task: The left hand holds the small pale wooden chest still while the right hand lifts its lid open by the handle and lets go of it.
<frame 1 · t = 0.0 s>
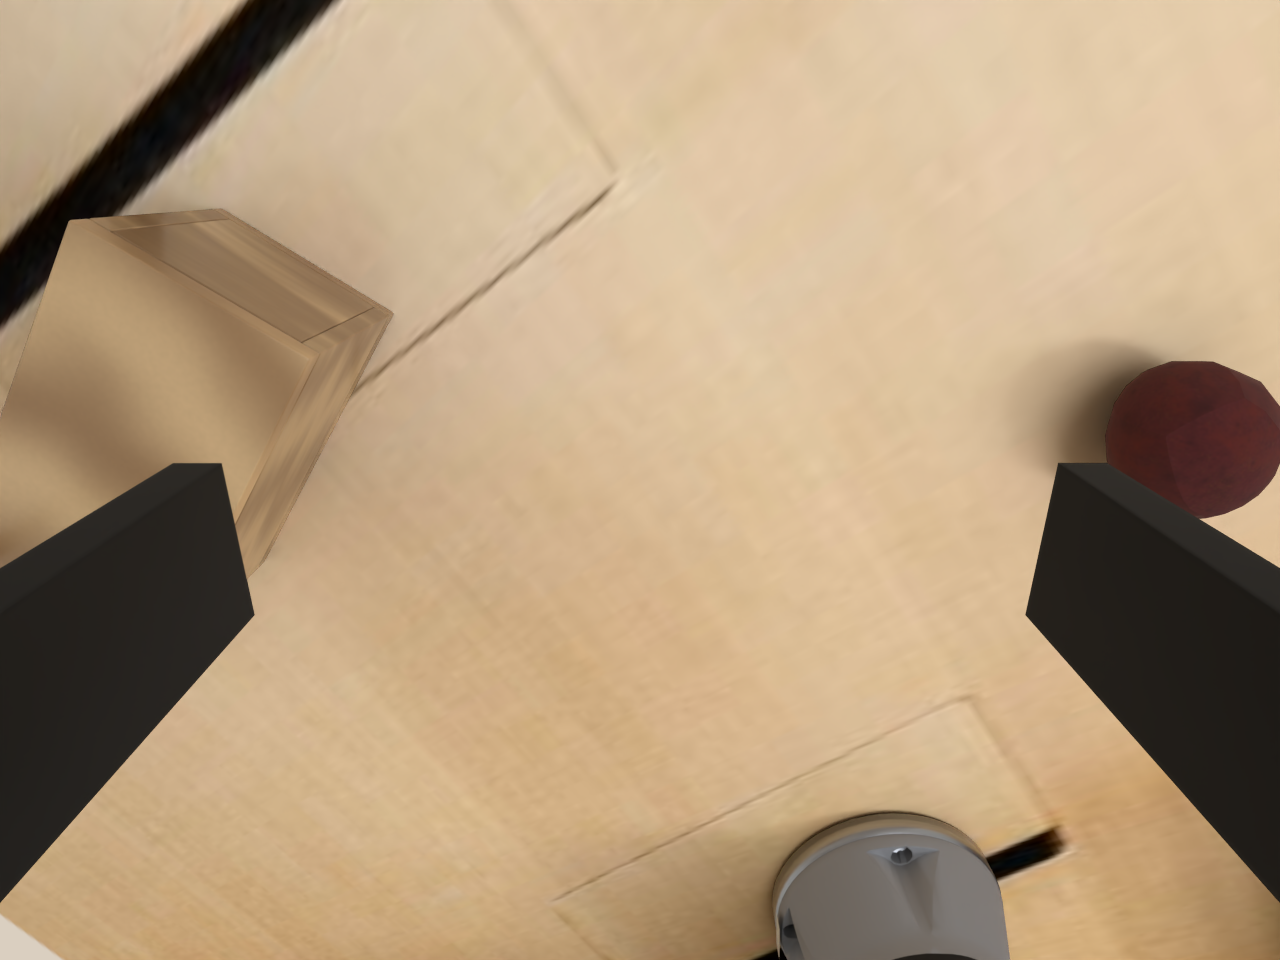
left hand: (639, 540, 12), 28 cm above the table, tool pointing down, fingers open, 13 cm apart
dark red round piece: (1144, 415, 41), on the table
lid: (59, 509, 28), point 14 cm above the table, hinge at 0.0°
chest: (244, 400, 40), on the table
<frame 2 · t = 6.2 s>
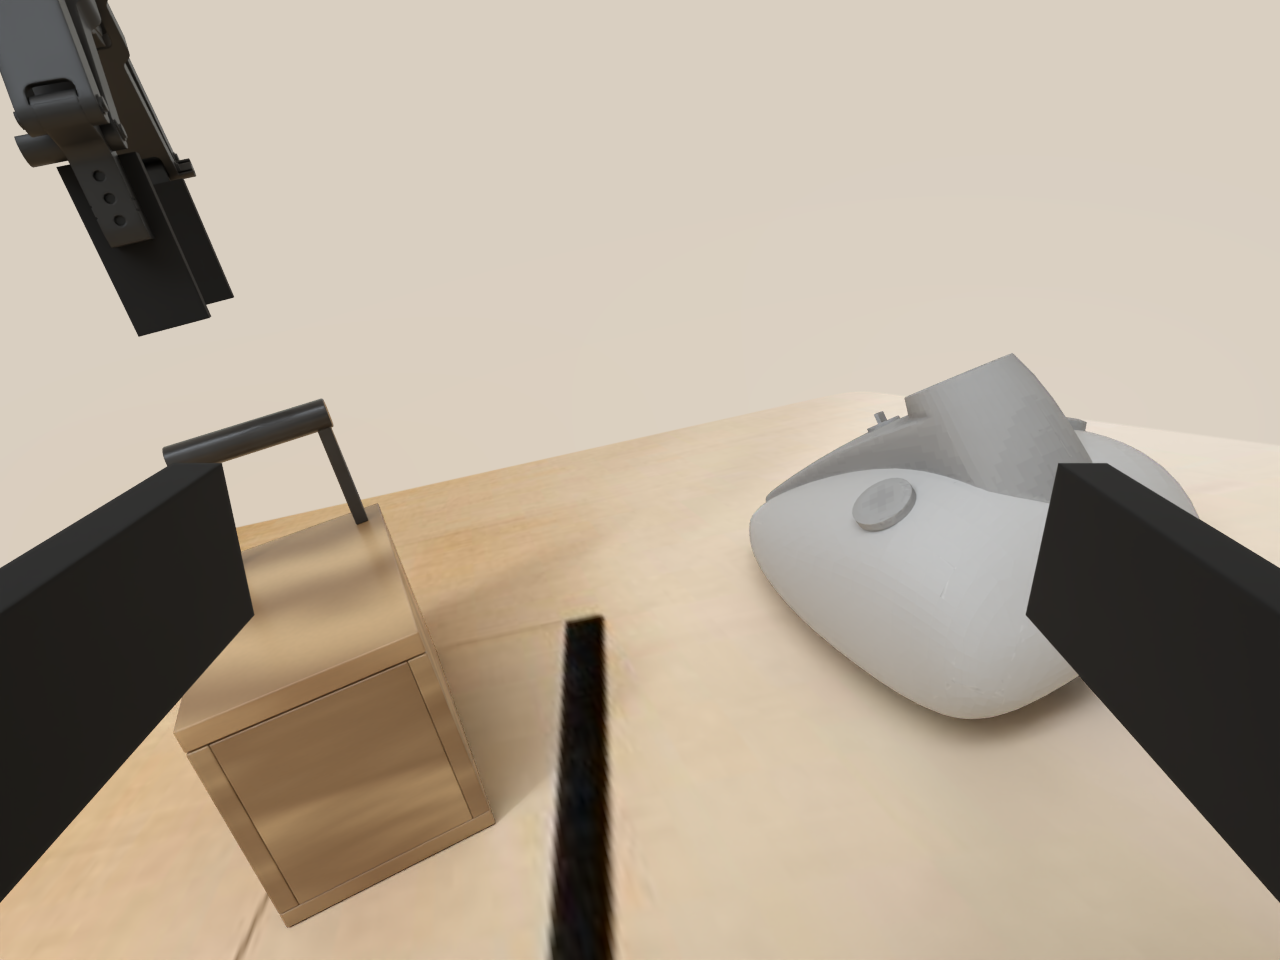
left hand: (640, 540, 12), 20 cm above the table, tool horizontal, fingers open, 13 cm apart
projector: (916, 604, 42), on the table
lid: (273, 533, 36), point 14 cm above the table, hinge at 0.0°
chest: (377, 759, 41), on the table
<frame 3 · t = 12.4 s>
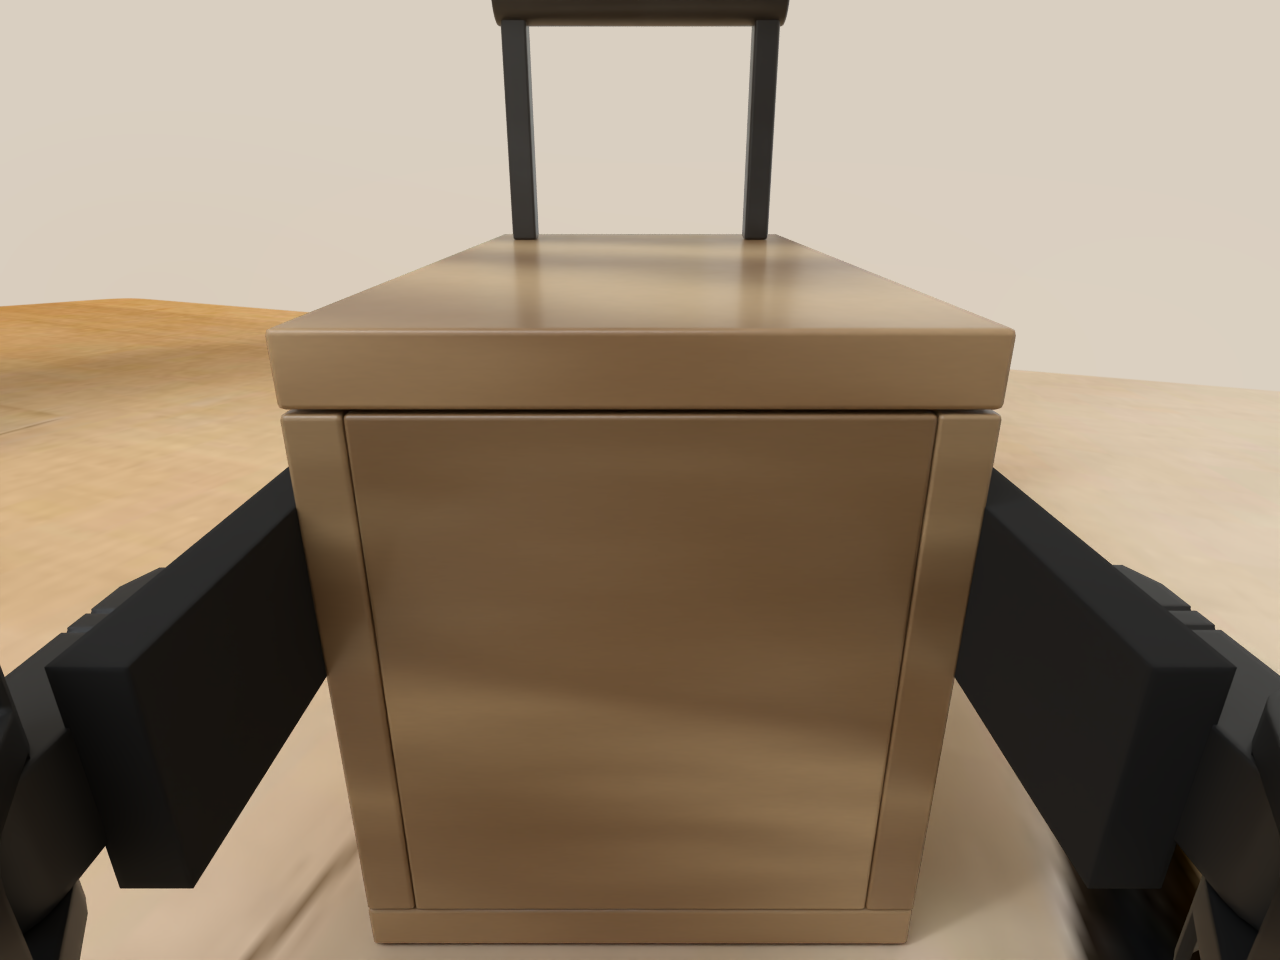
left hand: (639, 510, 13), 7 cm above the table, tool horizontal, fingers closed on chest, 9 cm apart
lid: (640, 106, 16), point 14 cm above the table, hinge at 0.0°
chest: (640, 658, 21), on the table, touching left hand
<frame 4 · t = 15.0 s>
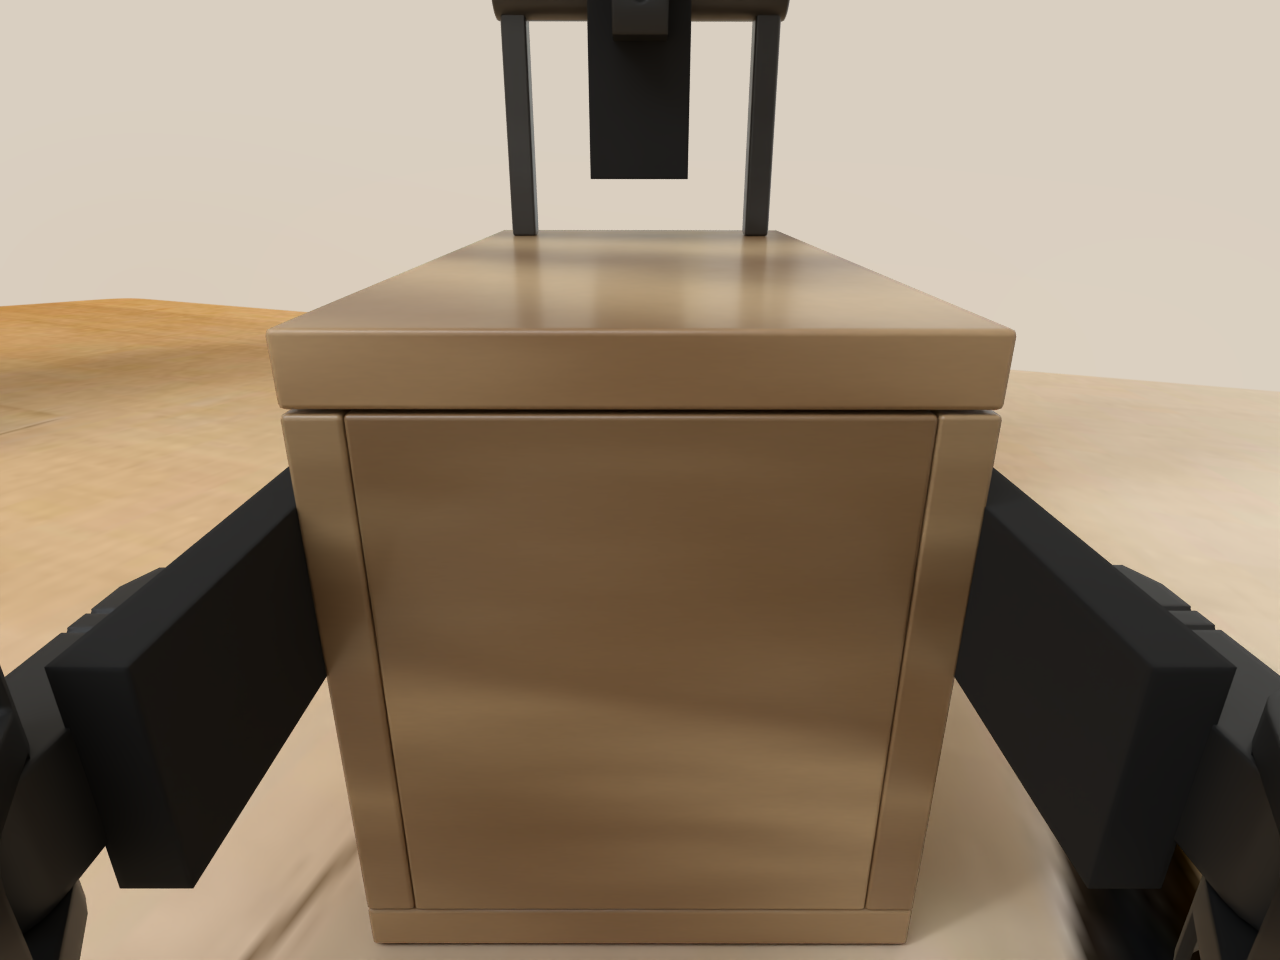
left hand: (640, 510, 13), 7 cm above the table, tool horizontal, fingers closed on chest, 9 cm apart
lid: (640, 103, 16), point 14 cm above the table, hinge at 0.4°, touching right hand
chest: (639, 658, 21), on the table, touching left hand
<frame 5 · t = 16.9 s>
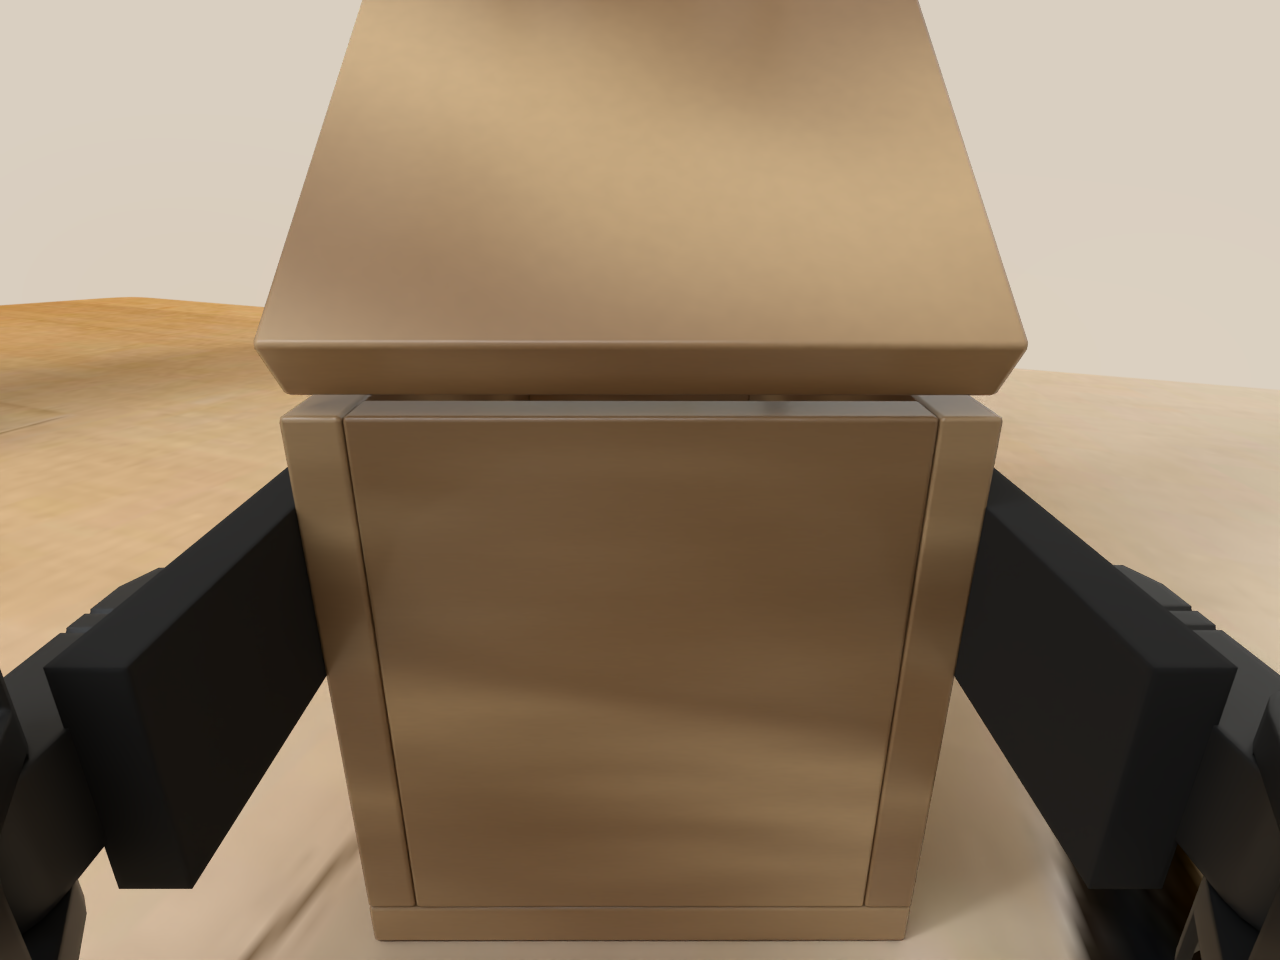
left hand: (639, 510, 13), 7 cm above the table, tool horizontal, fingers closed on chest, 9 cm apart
chest: (639, 654, 21), on the table, touching left hand
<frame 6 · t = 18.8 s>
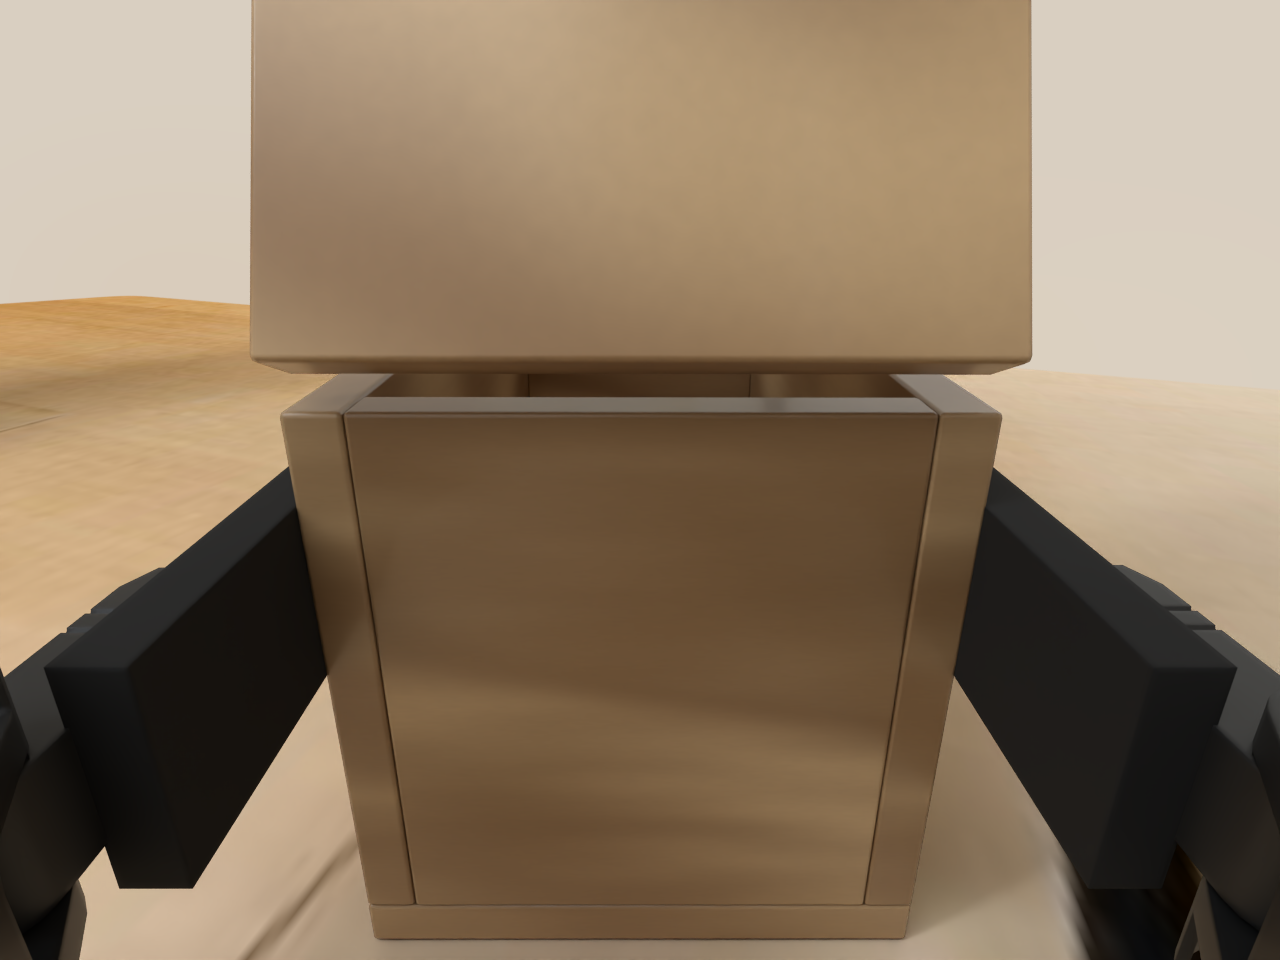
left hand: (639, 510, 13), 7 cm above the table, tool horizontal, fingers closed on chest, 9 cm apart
chest: (639, 654, 21), on the table, touching left hand
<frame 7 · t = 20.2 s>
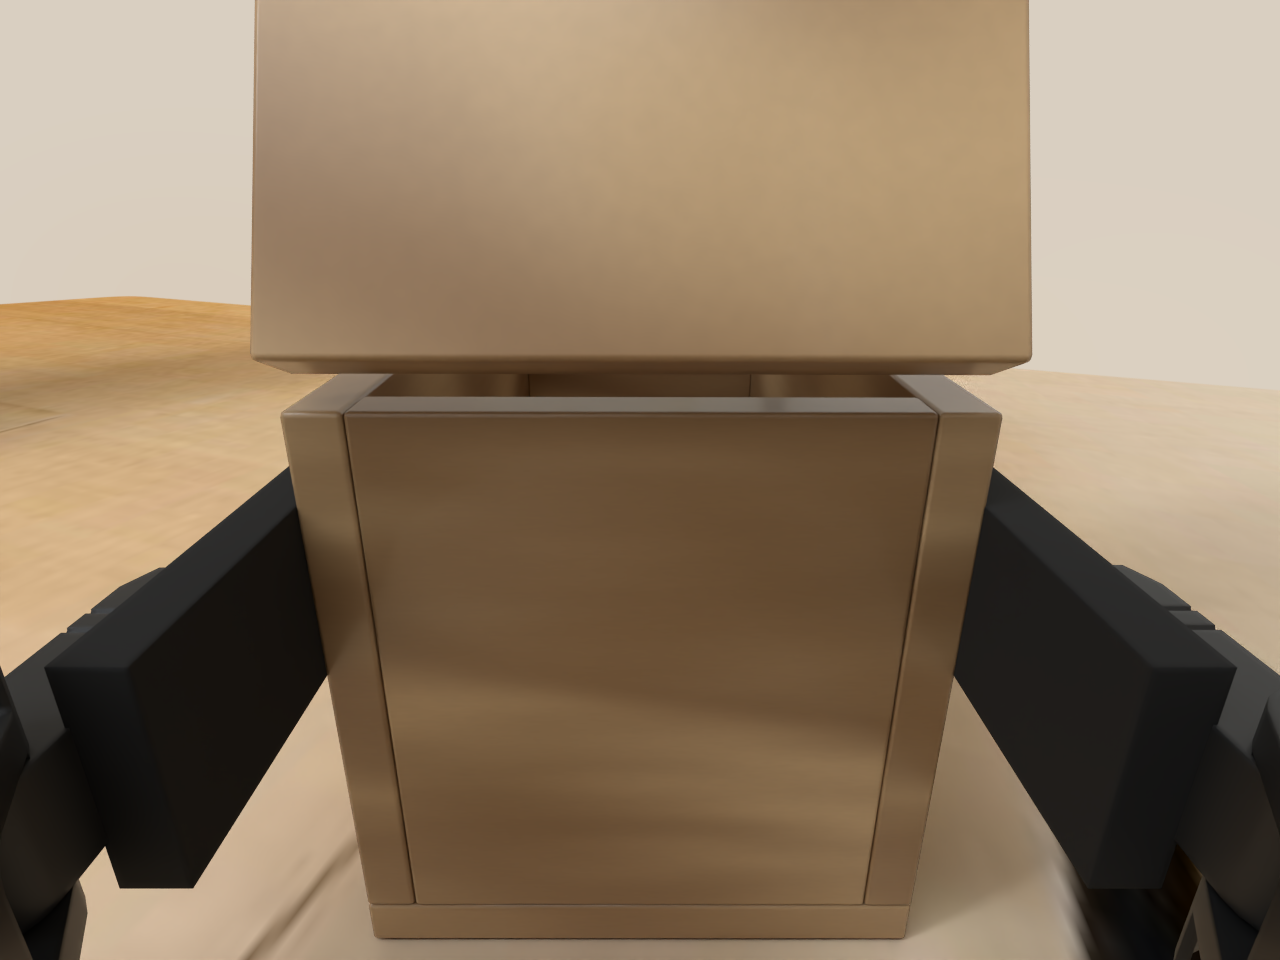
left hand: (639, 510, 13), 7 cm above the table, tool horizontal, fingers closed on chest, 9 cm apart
chest: (639, 654, 21), on the table, touching left hand
when the left hand's fingers open (7 cm above the table, at t = 22.6 s): chest stays where it is, on the table.
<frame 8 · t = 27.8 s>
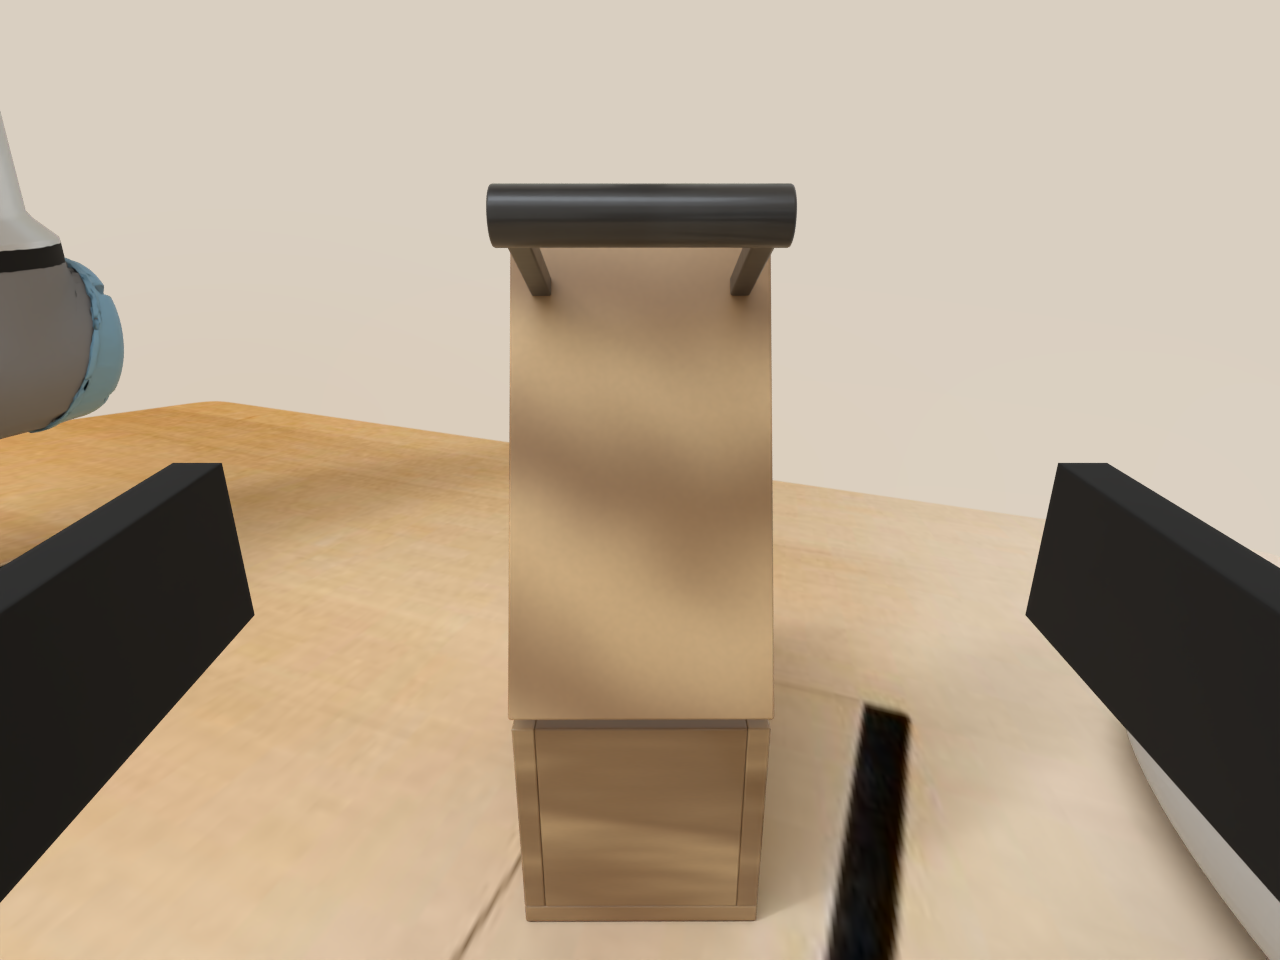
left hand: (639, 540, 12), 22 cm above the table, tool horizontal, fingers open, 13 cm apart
lid: (641, 463, 23), point 20 cm above the table, hinge at 66.5°
chest: (640, 769, 38), on the table
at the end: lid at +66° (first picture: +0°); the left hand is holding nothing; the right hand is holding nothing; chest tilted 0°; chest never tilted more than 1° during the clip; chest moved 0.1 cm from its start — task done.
